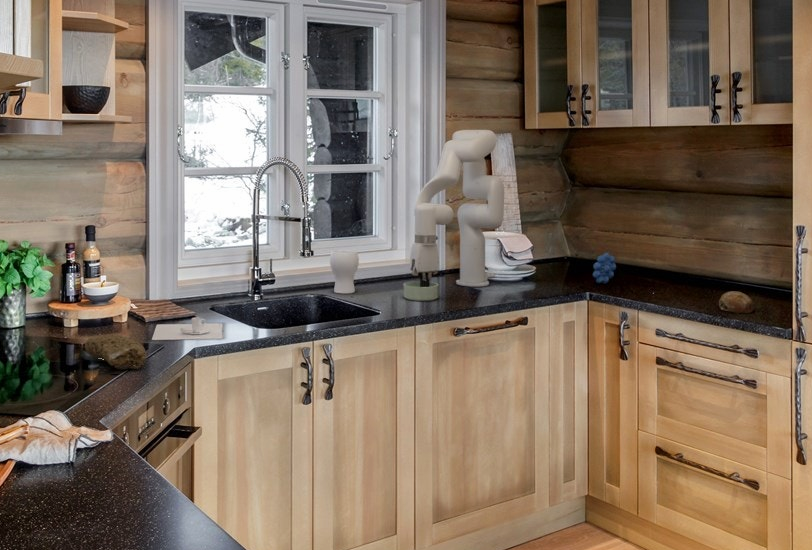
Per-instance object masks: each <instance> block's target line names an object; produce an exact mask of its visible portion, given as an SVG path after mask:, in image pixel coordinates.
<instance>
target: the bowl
mask: <svg viewBox="0 0 812 550" xmlns="http://www.w3.org/2000/svg"><path fill="white" fill-rule="evenodd" d="M439 287H440V286H439V283H437V282H433V281H430V287H420V280H419V281H417V280H416V281H415V280H414V281H406V282H404V283H403V284H402V288H403V289H402V296H403V297H404V298H405V299H407V300H409V301H413V302H430V301H435V300H437V299H438V298H439V297H440V296H439V294H440V293H439V291H440V289H439Z"/></svg>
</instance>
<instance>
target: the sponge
mask: <svg viewBox="0 0 812 550" xmlns="http://www.w3.org/2000/svg"><path fill="white" fill-rule="evenodd" d="M84 349H85V352H86V354H87V355H89V356H90V355H91V356H90V357H92V356H93V357H92V358H94V357H96V358H95V359H96V360H98V361H103V362H107V363H108V364H109V365H110V366H111V367H112V366H115V367H113V369H117V370H126V369H127V370H129V369H131V370H139V369H140V368H142V366H144V364H145V362H146V361H147V352H146V349H145V347H144V346H143V344H142V343H141V342H139V341H137V340H135V339H133V338H130V337H126V336H124V335H119V334H111V333H110V334H109V333H108V334H100V335H96V336H94V337H90V338H88V339H87V340H86V341H85V342H84ZM97 358H102V359H104V360H102V359H97ZM131 364H132V365H139V366H129V365H131ZM140 365H142V366H140ZM120 366H129V367H122V368H116V367H120Z"/></svg>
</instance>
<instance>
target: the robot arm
mask: <svg viewBox="0 0 812 550" xmlns="http://www.w3.org/2000/svg"><path fill="white" fill-rule="evenodd" d="M451 137H452V138H451V140H447V141H446V142H445V143H444V145H443V147H442V151H441V155H440V158H439V162H438V165H437V169H436V171H435V172H436V173H435V175H434V177H432V178H431V179H430V180H428V182H427V183H426V184H425V185H423V187H422V188H421V189H420V191H419V193H418V195H417V198H416V202H415V205H414V210H413V211H414V212H413V214H414V215H413V216H414V243H412V245H411V248H410V249H411V250H410V254H409V255H410V256H409V271H411V275H412V276H416V277H417V278H418V280H419V281H420V287H430V282H431V280H432V278H433V276H434V275H437V274H438V273H439V270H440V269H439V268H440V255H439V253H440V252H439V247H438V246H439V245H438V244H437V240H439V236H438V235H437V225H438V226H446V225H449V224H450V223H451V222H452V221H453V219H454V216H455V215H454V210H453V208H452V207H451V206H450V205H448V204H444V203H431V201H432V199H433V198H434V197H435V196H436V195H437V194H438V193H440V192H442V191H444V190H446V189H449V188H451V187H453V186H455V185H457V184H458V182H459V180H460V176H461V172H462V173H463V174H462V195H463V196H464V197H465V198H467V199H469V200H476V201H477V200H479V201H487V203H482V202H466V203H462V204H461V205H460V206H459V208H458V209H457V213H456V214H457V223H458V227H459V228H458V229H459V279H456V280H455V284H456V285H458V286H461V287H470V288H471V287H473V288H481V287H487V286H489V285H490V281H489V279H495V278H496V275H495V273H493V272H490V273H488V272H487V271H486V237H485V235H484V233H483V231H482V230H481V229H485V230H497V229H499V228H501V227H502V225H503V222H504V213H505V212H504V211H505V184H504V181H503V179H502V178H501V177H500V176H498V175H492V174H491V175H489V174H487V163H486V160H485V157H486V156H488V155H489V154H491V153H492V152H493V151H494V149H496V147H497V139H498V138H497V136H496V134H495V132H494V131H492V130H491V129H461V130H457V131H455V132H453V133H452V136H451ZM462 167H463V169H462Z"/></svg>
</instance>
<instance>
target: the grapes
mask: <svg viewBox="0 0 812 550" xmlns="http://www.w3.org/2000/svg"><path fill="white" fill-rule="evenodd" d="M615 259H616V258H615V257H614V256H613V255H611V254H610V253H609V252H604V254H603V255H599V256H597V259H596V261H597V262H595V263H594V264H593V270H594V271H593V273H592V277H593V278H594V279H595V282H596V283H597V284H599V285H601V284H607V283H609V280H610V279H612V278H613V277H614V275H615V273H614V271H615V270H616V269H617V265H616V263H615V261H616V260H615Z"/></svg>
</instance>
